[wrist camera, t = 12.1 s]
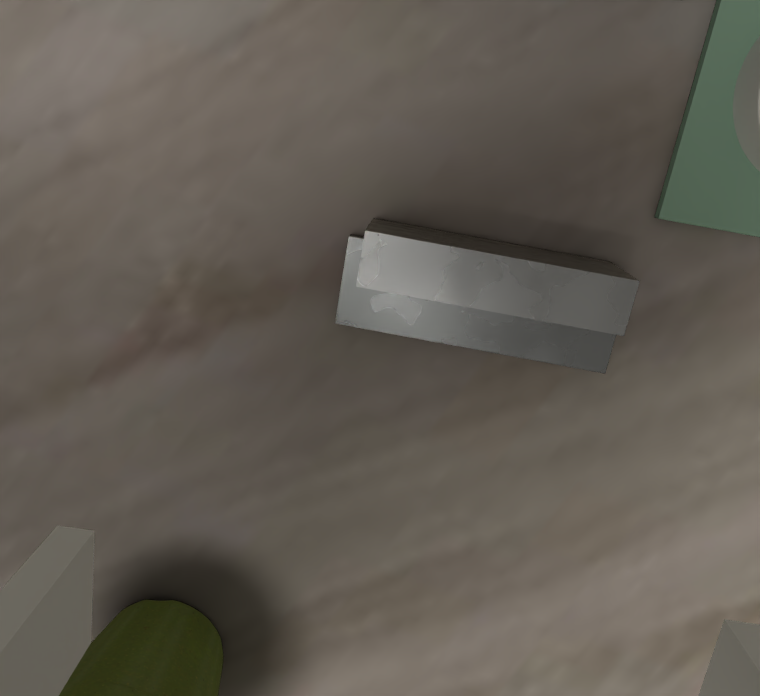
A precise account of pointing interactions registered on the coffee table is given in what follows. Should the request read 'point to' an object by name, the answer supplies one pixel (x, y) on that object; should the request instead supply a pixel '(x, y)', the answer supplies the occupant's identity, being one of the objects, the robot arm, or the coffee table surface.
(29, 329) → the coffee table surface
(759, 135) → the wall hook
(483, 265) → the vise
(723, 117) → the felt pad
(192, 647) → the plant pot
